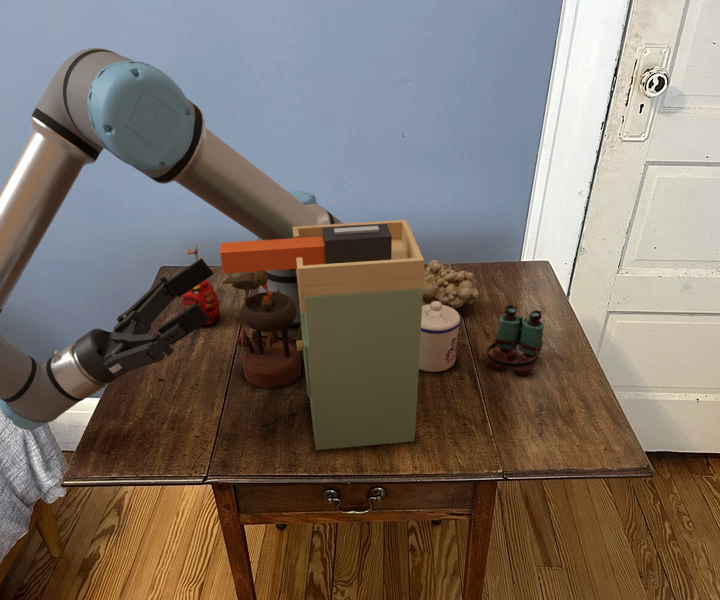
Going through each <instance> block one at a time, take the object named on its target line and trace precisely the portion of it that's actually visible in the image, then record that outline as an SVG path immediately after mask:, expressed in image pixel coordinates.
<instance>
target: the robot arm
mask: <svg viewBox="0 0 720 600" xmlns="http://www.w3.org/2000/svg"><path fill="white" fill-rule="evenodd" d="M29 119H30V122H31V126H32V132H31V134H30V136H29V137H28V139H27V141H26V143H25V145H24V147H23V148H22V150H21V152H20V154H19V156H18V157H17V160H16V162H15V163H14V164H13V167H12V169H11V171H10V172H9V174H8V176H7V178H6V180H5V182H4V184H3V185H2V187H1V189H0V314H1V313H2V311H3V310H4V307H5V305H6V303H7V302H8V300H9V298H10V296H11V295H12V293H13V291H14V289H15V288H16V286H17V285H18V282H19V281H20V279H21V278H22V276H23V273H24V272H25V270H26V269H27V267H28V265H29V263H30V262H31V259H32V258H33V256H34V254H35V252H36V251H37V249H38V248H39V245H40V244H41V242H42V240H43V239H44V237H45V235H46V233H47V231H48V229H49V228H50V226H51V225H52V223H53V221H54V219H55V217H56V215H57V214H58V212H59V210H60V208H61V207H62V205H63V203H64V201H65V200H66V198H67V196H68V195H69V193H70V191H71V190H72V188H73V186H74V184H75V182H76V181H77V179H78V177H79V175H80V173H81V171H82V170H83V168H84V166H86V165H90V164H91V165H92V164H95V163H96V162H97V160H98V158H99V156H100V155H101V153H102V151H103V150H104V149H105V150H106V151H108V152H109V153H110V154H111V155H113V156H114V157H115V158H117V159H118V160H119V161H121V162H123V163H125V164H126V165H129V166H131V167H133V168H134V169H135V170H137V171H139V172H140V173H142V174H143V175H145V176H146V177H148V178H149V179H151V180H153V181H154V182H156V183H157V184H161V185H165V184H169V183H172V182H175V183H176V184H178V185H179V186H181V187H183V188H184V189H186V190H187V191H189V192H190V193H192V194H193V195H195V196H196V197H198V198H199V199H201V200H202V201H204V202H205V203H207V204H208V205H210V206H211V207H212V208H214V209H216V210H217V211H219V212H220V213H222V214H223V215H225V216H226V217H228V218H229V219H231V220H233V221H234V222H236V223H237V224H238V225H240V226H241V227H242V228H244V229H245V230H247V231H249V232H250V233H251V234H253V235H254V236H256V237H257V241H259V240H275V239H291V238H293V228H292V227H297V226H313V225H329V224H344V222H342V221H341V220H339V219H338V218H337V217H336V216H335V215H333V214H332V213H331V212H329V211H328V210H327V209H326V208H324V207H323V206H322V205H320V204H318V202H317V197H316V196H315V194H313V193H312V192H308V191H303V190H302V191H301V190H292V191H288V190H286V189H285V188H284V186H281V185H280V184H279V183H277V182H276V181H275V180H274V179H272V178H271V176H269V175H267V174H266V173H265V172H263V171H262V170H261V169H259V168H258V166H256V165H254V164H253V163H252V162H251V161H250V160H248V159H247V158H246V157H244V156H243V155H242V154H241V153H239V152H238V151H237V150H235V149H234V148H233V147H231V145H229V144H228V143H226V142H225V141H224V140H223V139H221V138H220V137H218V136H217V135H216V134H215V133H214V132H212V131H211V130H209V128H208V127H206V125H205V118H204V114H203V111H202V110H201V109H200V108H199V106H197V105H196V104H195V103H194V102H192V101H191V100H190V99H189V98H187V97H186V95H185V93H184V92H183V90H182V89H181V87H180V86H179V85H178V84H177V83H176V82H175V81H174V80H173V78H171V77H170V76H169V75H168V74H166V73H165V72H164V71H162V70H160V69H159V68H157V67H155V66H153V65H151V64H149V63H146V62H142V61H137V60H134V59H132V58H129V57H126V56H123V55H121V54H119V53H116V52H114V51H112V50H109V49H105V48H99V47H90V48H86V49H81V50H80V51H77V52H75V53H73V54H71V56H69V57H68V58H67V59H66V60H65V61H63V62H62V64H61V65H60V67H59V68H58V69H57V71H56V72H55V74H54V75H53V77H52V78H51V79H50V81H49V82H48V85H47V87H46V88H45V90H44V92H43V93H42V95H41V97H40V99H39V100H38V102H37V104H36V106H35V108H34V110H33V112H32V113H31V116H30V117H29ZM263 272H265V273H266V274H267V276H268V281H267V287H268V292H278V293H282V294H285V295H287V296H288V297H290V298H291V299H292V300H293V302H294V303H295V306H296V317H295V319H294V321H293V322H292V323H291V324H290V325H289V326H288V327H287V328H295V327H298V328H299V326H301V318H300V300H299V291H298V283H297V275H296V269H285V270H270V271H263ZM213 275H214V271H213V270H212V268H210V266H209V265H208V264H207V263H206V262H205V260H204V259H203V258H202V257H200V258H198V261H196V260H195V262H193V263H191V265H189V266H188V267H186V268H184V269H183V270H182V271H180V272H179V273H177V274H175V275H174V276H172V277H171V278H170V279H168V278H167V277H166V276H164V275H163V276H160V278H159V280H158V282H157V283H155V284H154V285H153V286H152V287H151V288H150V289H149V290H147V292H146V293H144V294H143V295H142V296H141V297H140V298H139V299H138V300H136V302H135V303H133V304H132V306H130V307H129V308H128V309H127V310H126V311H124V312H123V313H121V314H120V315H118V316H117V318H116V321H117V323H116V325H115V326H114V327H113V328H112V331H107V330H104V329H102V328H93V329H91V330H89V331H88V332H86V333H85V334H84V335H82V336H81V337H80V338H78V339H76V341H75V342H72V343H71V344H70V345H68V346H67V347H65V348H64V349H63V350H61V351H60V350H57V349H56V350H54V352H53V356H52V357H50V358H48V359H47V360H45V361H43V362H39V361H38V360H36V359H34V358H33V357H32V356H30V355H29V354H27V353H25V352H24V351H22V350H21V349H19V348H17V347H15V346H14V345H13V344H11V343H9V342H8V341H7V340H5V338H4V337H3V336H2V334H0V411H1V413H2V415H4V417H5V418H6V419H9V420H10V421H11V423H12V425H14V426H15V427H17V428H18V429H22V430H26V431H34V430H37V429H39V428H41V427H43V426H45V425H47V424H48V423H51V422H54V421H55V420H57V419H58V418H59V417H60V416H61V415H63V414H64V413H66V412H67V411H69V410H70V409H71V408H72V407H74V406H75V405H77V404H78V403H80V402H83V401H84V400H86V399H88V398H89V397H91V396H93V395H95V394H96V393H97V392H99V391H100V390H102V389H104V388H105V387H106V386H107V385H108V384H111V383H112V382H114V381H115V380H117V379H118V378H120V377H121V376H123V375H125V374H126V373H128V372H130V371H133V370H134V371H135V370H137V369H140V368H143V367H147V366H150V365H153V364H157V363H159V362H162V361H163V360H164V359H165V357H169V356H171V355H172V354H173V353H174V352H175V351H174V348H173V347H172V346H173V345H174V344H175V343H177V342H179V341H180V340H181V339H183V338H185V337H186V336H188V335H189V334H191V333H193V332H194V331H196V330H198V329H199V328H201V327H203V326H202V325H203V324H205V323H206V322H208V321H209V319H210V318H209V317H208V315H207V314H206V313H205V312H204V311H203V310H202V309H201V307H200V306H199V305H198V304H197V303H195V304H193V305H192V306H190V307H189V308H187V309H186V310H184V309H183V311H181V312H180V313H178V314H177V315H176V316H174V317H172V318H171V319H169V320H167V321H166V322H165V323H163V324H162V325H160V326H158V327H157V332H153V333H149V332H150V330H151V329H152V323H154V322H155V320H156V319H157V318H158V317H159V315H161V314H162V312H163V311H165V309H166V308H167V307H168V306H169V305H170V304H171V303H172V302H173V300H175V298H176V297H178V298H180V297H182V295H183V294H185V293H186V292H188V291H189V290H191V289H192V288H194V287H195V286H197V285H198V284H200V283H201V282H203V281H204V280H207V279H209V278H211V277H212V276H213ZM263 292H267V291H266V290H265V289H264V288H263V287H262V286H260V285H259V290H258V293H263Z"/></svg>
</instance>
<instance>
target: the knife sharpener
mask: <svg viewBox="0 0 720 600" xmlns="http://www.w3.org/2000/svg"><path fill="white" fill-rule="evenodd" d="M322 232H323V237H307V238H291V239H275V240H259V241H258V240H246V241H228V242H220V245H219V246H220V247H219V248H220V249H219V254H220V261H221V268H222V269H221V270H222V274H224V275H225V274H238V273H239V274H240V273H256V272H258V271H270V270H285V269H297V261H296V258H300V257H302V259H303V266H305V265H320V264H335V263H350V262H365V261H380V260H391V253H392V236H391V233H390V231H389V228H388V225H387V224H371V225H355V226H339V227H323V228H322Z"/></svg>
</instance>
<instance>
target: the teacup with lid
mask: <svg viewBox="0 0 720 600" xmlns="http://www.w3.org/2000/svg"><path fill="white" fill-rule="evenodd" d="M461 319H462V318H461V315H460V314H459V312H458V311H457V310H456V309H453V308H451V307H448V306H445V305H442V304H441V302H439V301H433V302H432V303H431V304H429V305H424V306H422V318H421V336H420V354H419V371H420V370H421V371H424V372H430V373H438V372H439V373H440V372H443V371H447V370H449V369H450V368H452V367H453V366H454V365H455V364H456V360H457V351H458V350H457V349H458V341H459V340H458V339H459V331H460V325H461V323H462V320H461Z"/></svg>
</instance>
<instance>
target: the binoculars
mask: <svg viewBox="0 0 720 600" xmlns="http://www.w3.org/2000/svg"><path fill="white" fill-rule="evenodd" d="M517 312H518V310H517V308H516V306H514V305H512V304H506V305H505V307H504V314H502V315H501V317H500V319H499V322H498V327H497V333H496V336H495V339H494V340H493V342H492V343H490V345H489V346H488V348H487V349H486V356H487V359H489V362H488V364H489V365H488V366H489V367H490V368H491V369H492V370H494V371H500V372H501V371H504V370H505V369H506V368H513V372H514V374H515V375H516V376H519V377H525V376H528V375H530V374H531V373H532V371H533V364H535V363H536V362H537V360H538V359H539V354H540V353H541V351H542V348H543V343H544V341H543V335H544V323H543V322H542V321H540V320H541V319H542V316H543V312H542V310H539V309H537V310H533V311H531V312H530V313H529V316H528V317H524V318H523V316H520V315H517ZM523 319H524V321H523ZM517 347H518V349H519V350H520V351H519V352H521V353H522V355H521V358H519V359H518V360H516V361H515V362H511V361H510V362H509V359H508V358H511V357H512V356H513V354H514V350H515V349H517ZM496 348H498V350H497V352H496V353H493V354H492V355H491V353H490V352H491V350H492V349H496Z"/></svg>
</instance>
